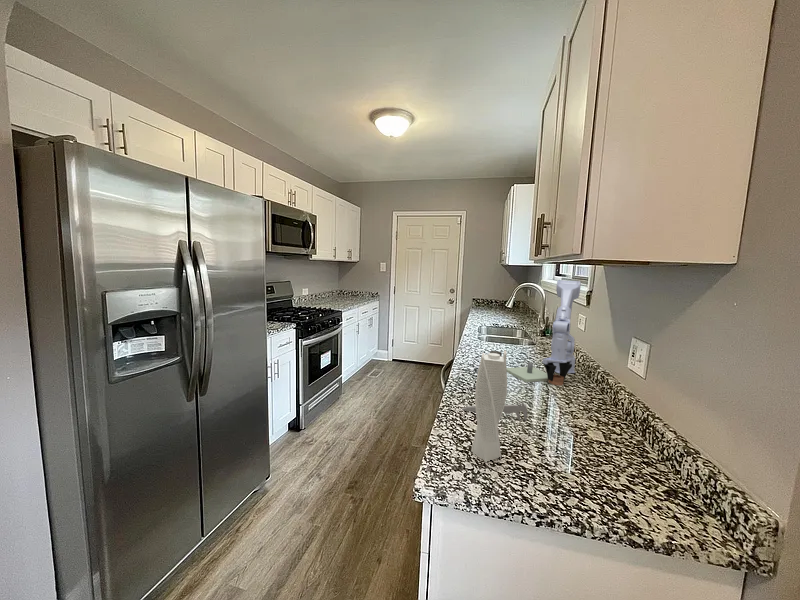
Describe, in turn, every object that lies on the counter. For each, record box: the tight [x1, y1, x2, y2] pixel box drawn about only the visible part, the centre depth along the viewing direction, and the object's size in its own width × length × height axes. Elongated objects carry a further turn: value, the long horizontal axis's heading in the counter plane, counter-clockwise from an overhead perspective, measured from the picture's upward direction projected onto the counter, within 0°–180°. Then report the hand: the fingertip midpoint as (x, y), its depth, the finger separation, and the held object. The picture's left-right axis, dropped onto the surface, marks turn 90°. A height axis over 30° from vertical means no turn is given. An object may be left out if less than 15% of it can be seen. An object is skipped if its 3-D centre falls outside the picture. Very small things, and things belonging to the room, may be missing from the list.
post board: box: [506, 362, 549, 383], centre depth 153 cm, size 16×16×6 cm
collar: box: [548, 373, 565, 386], centre depth 144 cm, size 6×6×3 cm
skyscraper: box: [470, 350, 508, 463], centre depth 84 cm, size 8×8×28 cm
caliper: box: [461, 401, 528, 422], centre depth 109 cm, size 20×1×6 cm, turn 72°
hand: (556, 379), depth 144 cm, fingers closed on collar, 6 cm apart
